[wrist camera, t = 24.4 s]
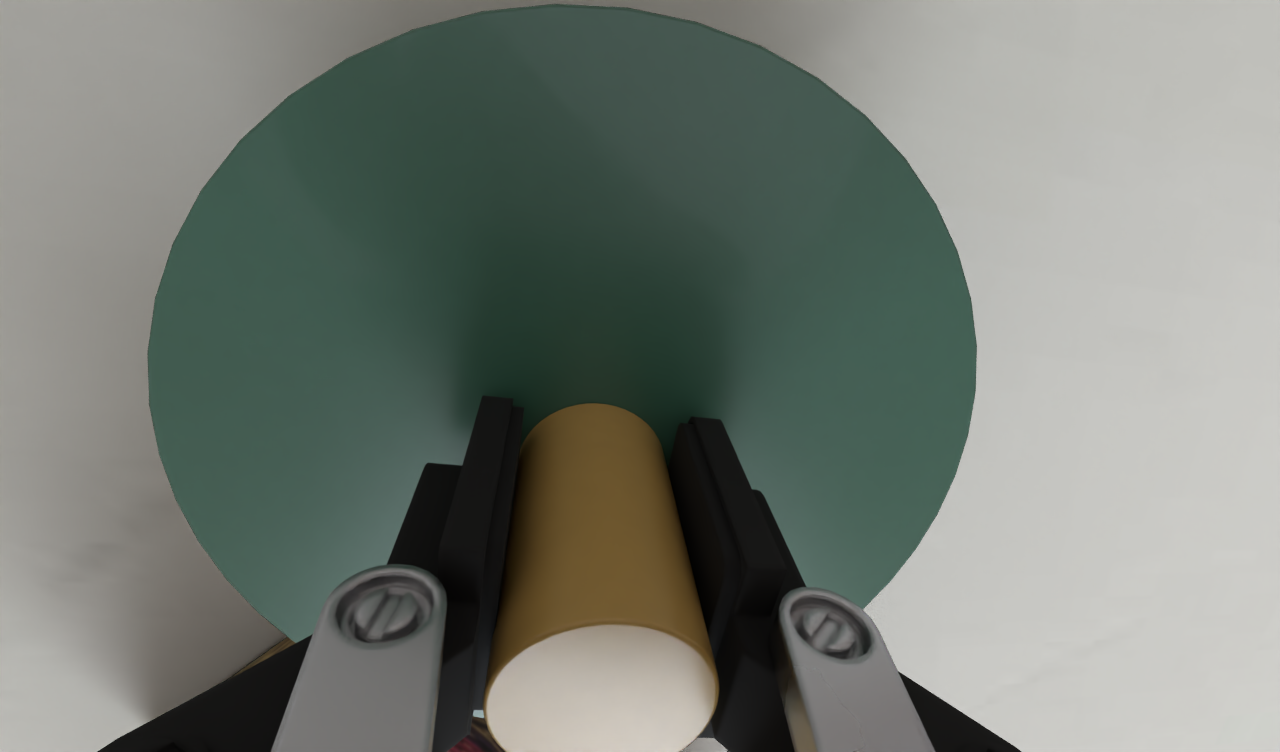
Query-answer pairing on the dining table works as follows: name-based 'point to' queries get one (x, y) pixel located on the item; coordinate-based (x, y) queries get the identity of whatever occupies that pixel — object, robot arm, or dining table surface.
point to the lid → (563, 340)
